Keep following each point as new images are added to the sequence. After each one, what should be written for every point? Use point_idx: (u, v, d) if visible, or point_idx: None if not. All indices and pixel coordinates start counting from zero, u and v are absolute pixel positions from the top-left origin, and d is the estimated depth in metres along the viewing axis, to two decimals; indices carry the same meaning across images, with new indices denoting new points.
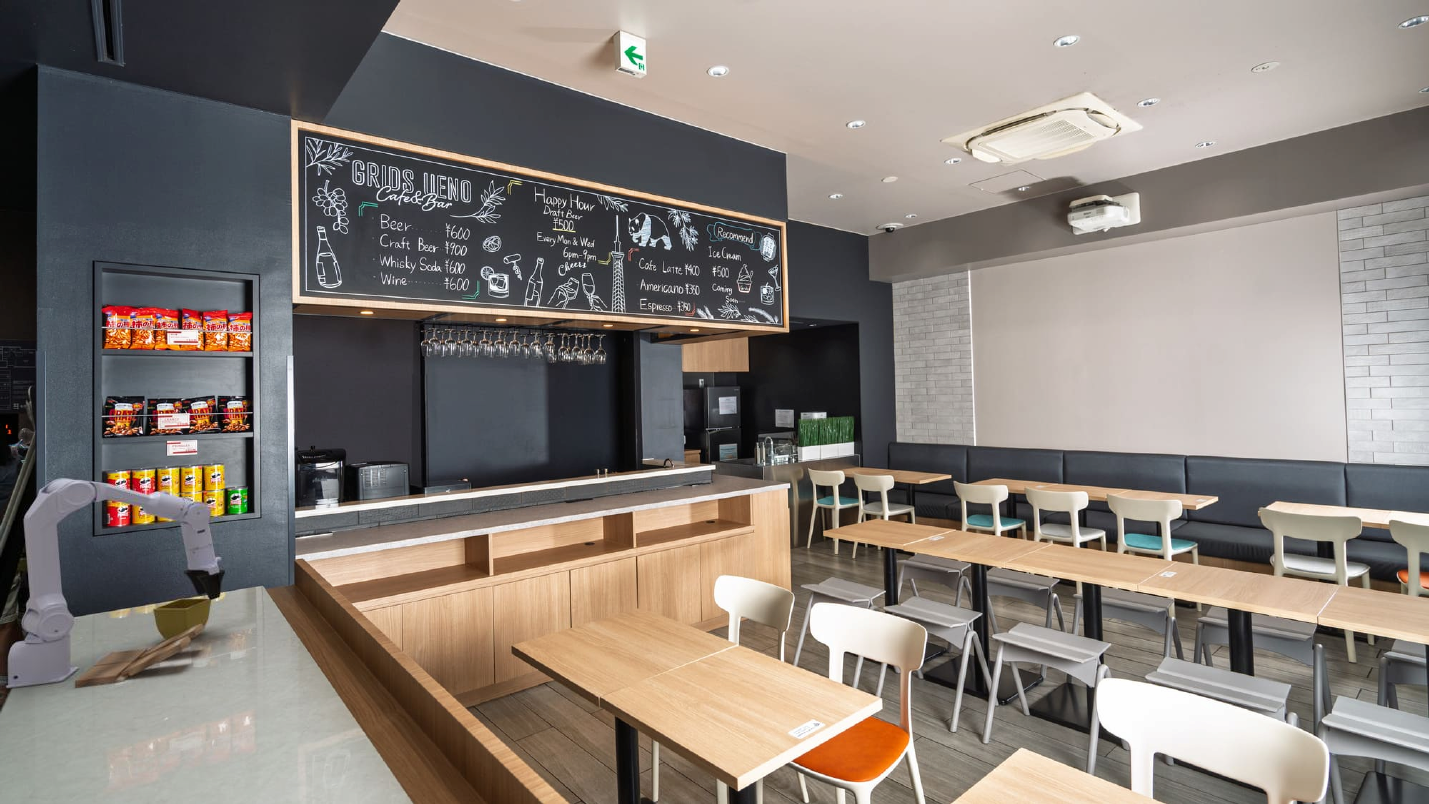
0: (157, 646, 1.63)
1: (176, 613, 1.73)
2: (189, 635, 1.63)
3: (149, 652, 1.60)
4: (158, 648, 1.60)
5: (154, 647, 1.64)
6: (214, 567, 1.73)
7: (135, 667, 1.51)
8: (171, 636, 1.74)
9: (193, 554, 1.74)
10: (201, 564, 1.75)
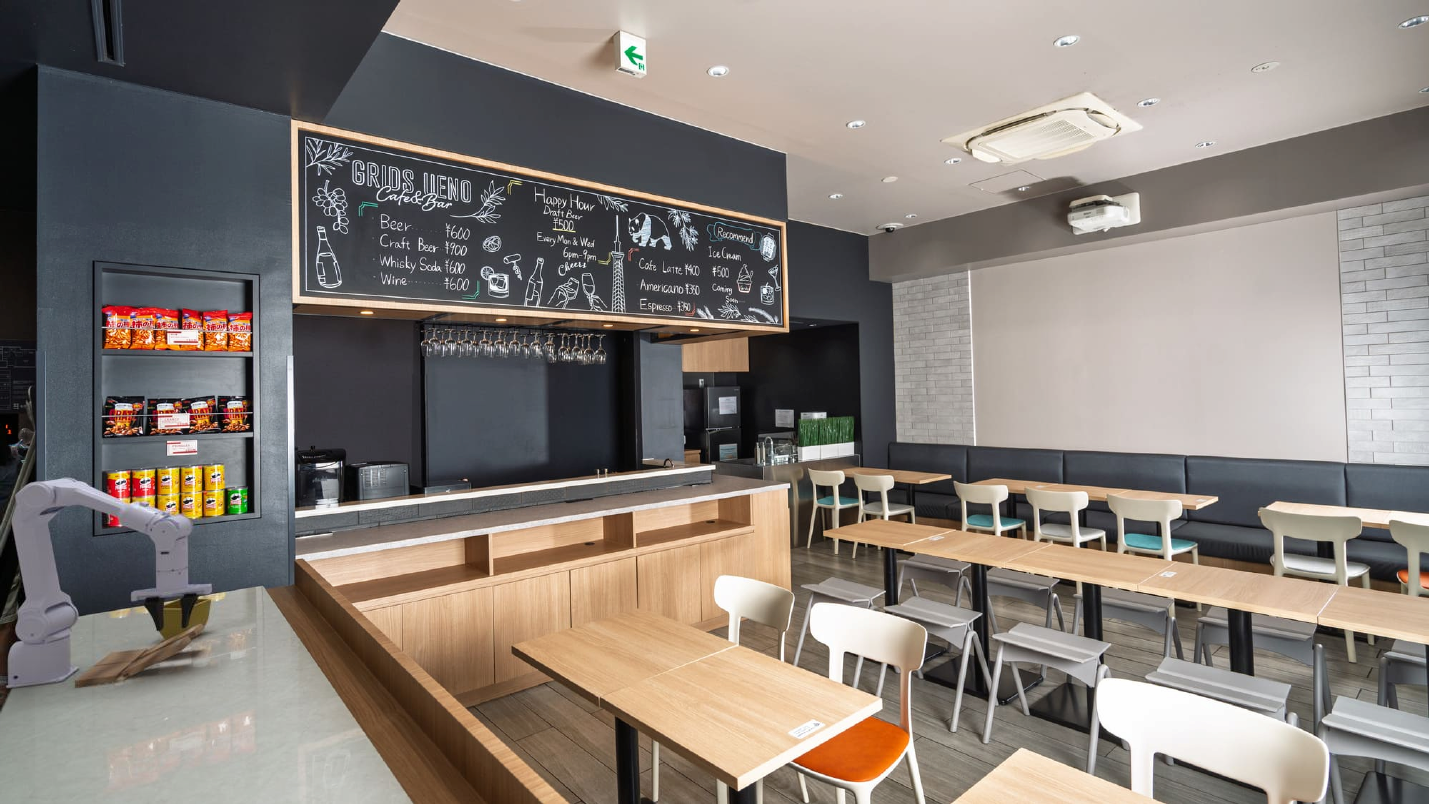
0: (157, 646, 1.63)
1: (176, 613, 1.73)
2: (189, 635, 1.63)
3: (149, 652, 1.60)
4: (158, 648, 1.60)
5: (154, 647, 1.64)
6: None
7: (135, 667, 1.51)
8: (171, 636, 1.74)
9: None
10: None
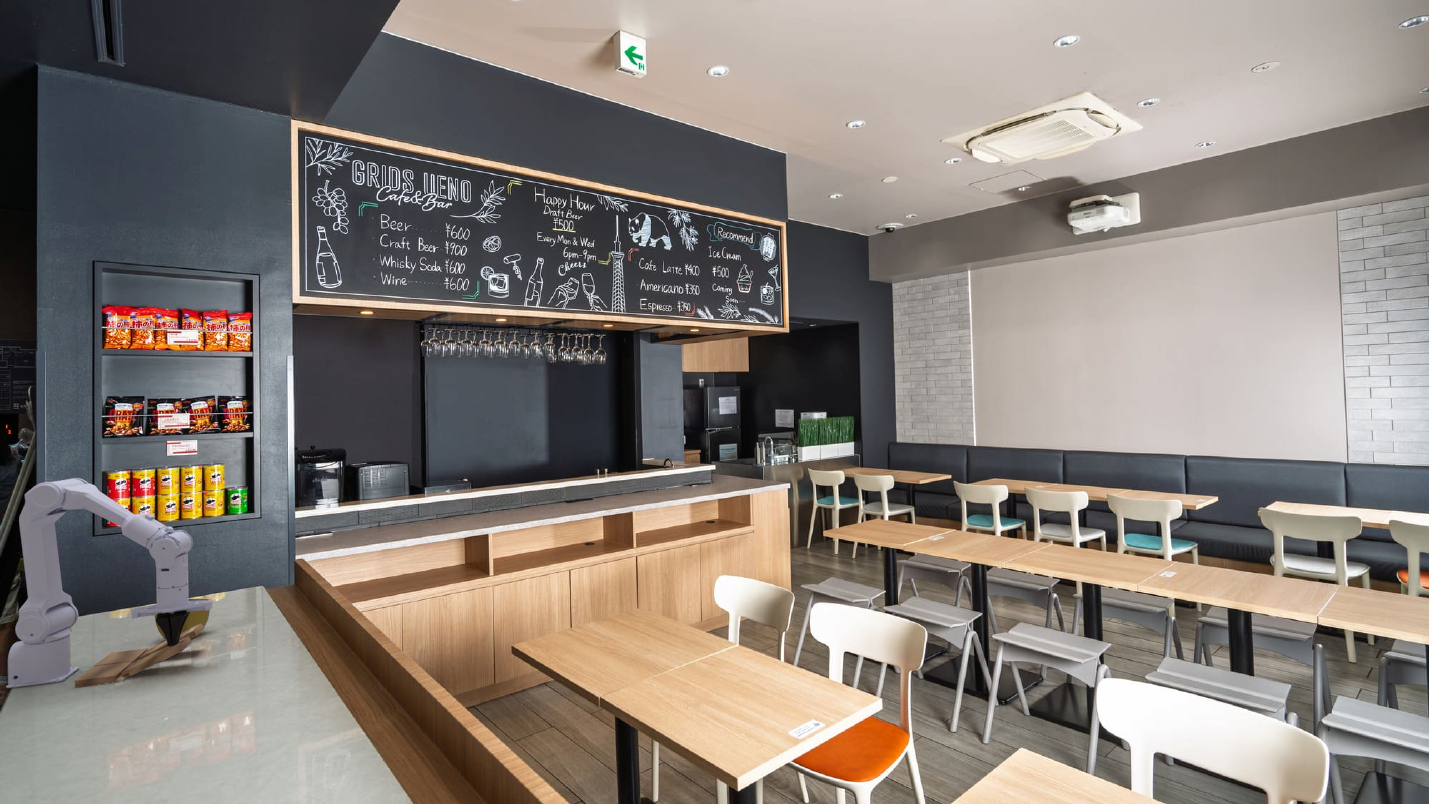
0: (157, 646, 1.63)
1: None
2: (189, 635, 1.63)
3: (149, 652, 1.60)
4: (158, 648, 1.60)
5: (154, 647, 1.64)
6: None
7: (135, 667, 1.51)
8: None
9: None
10: None
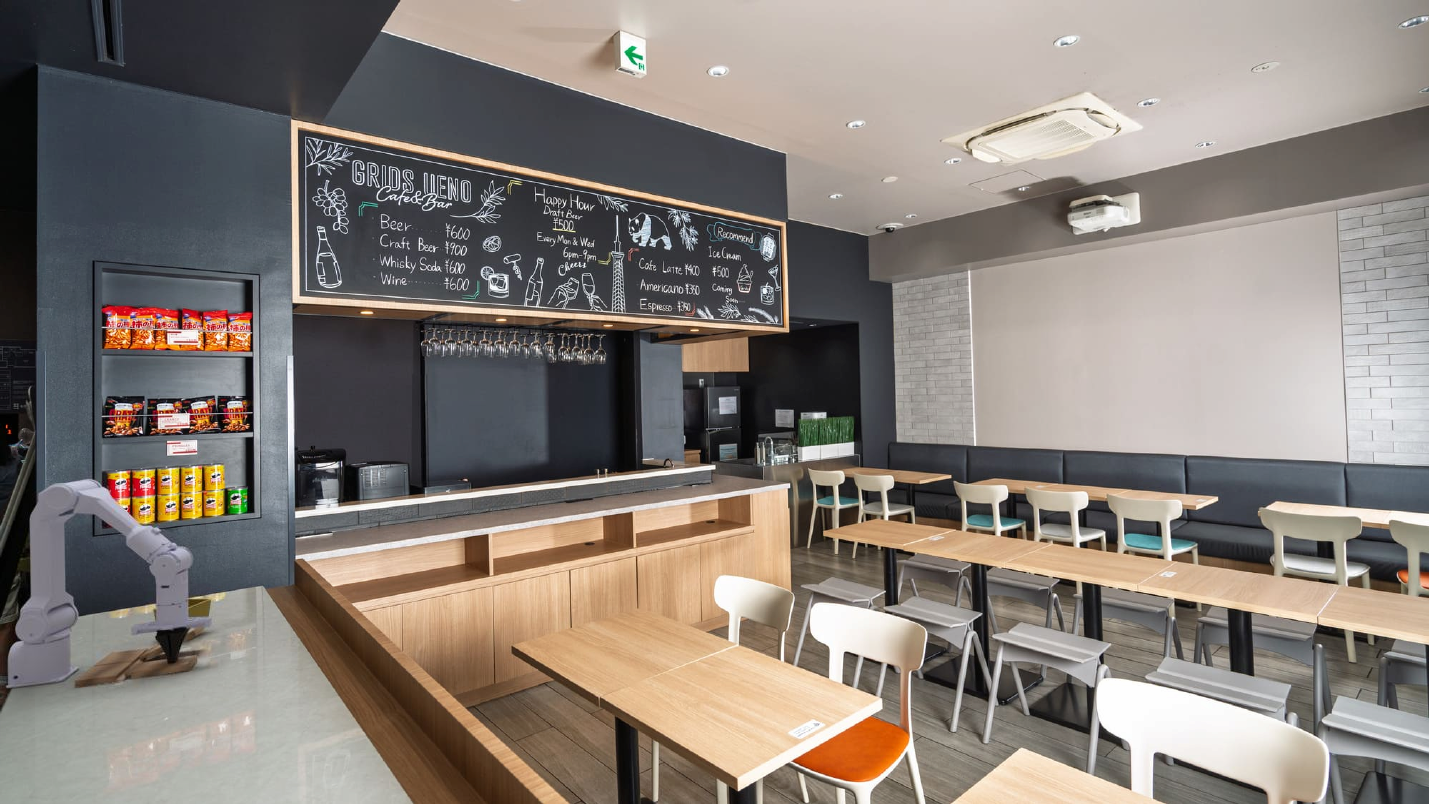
0: (157, 646, 1.63)
1: None
2: (189, 635, 1.63)
3: (149, 652, 1.60)
4: (158, 648, 1.60)
5: (154, 647, 1.64)
6: None
7: (139, 672, 1.51)
8: None
9: None
10: None
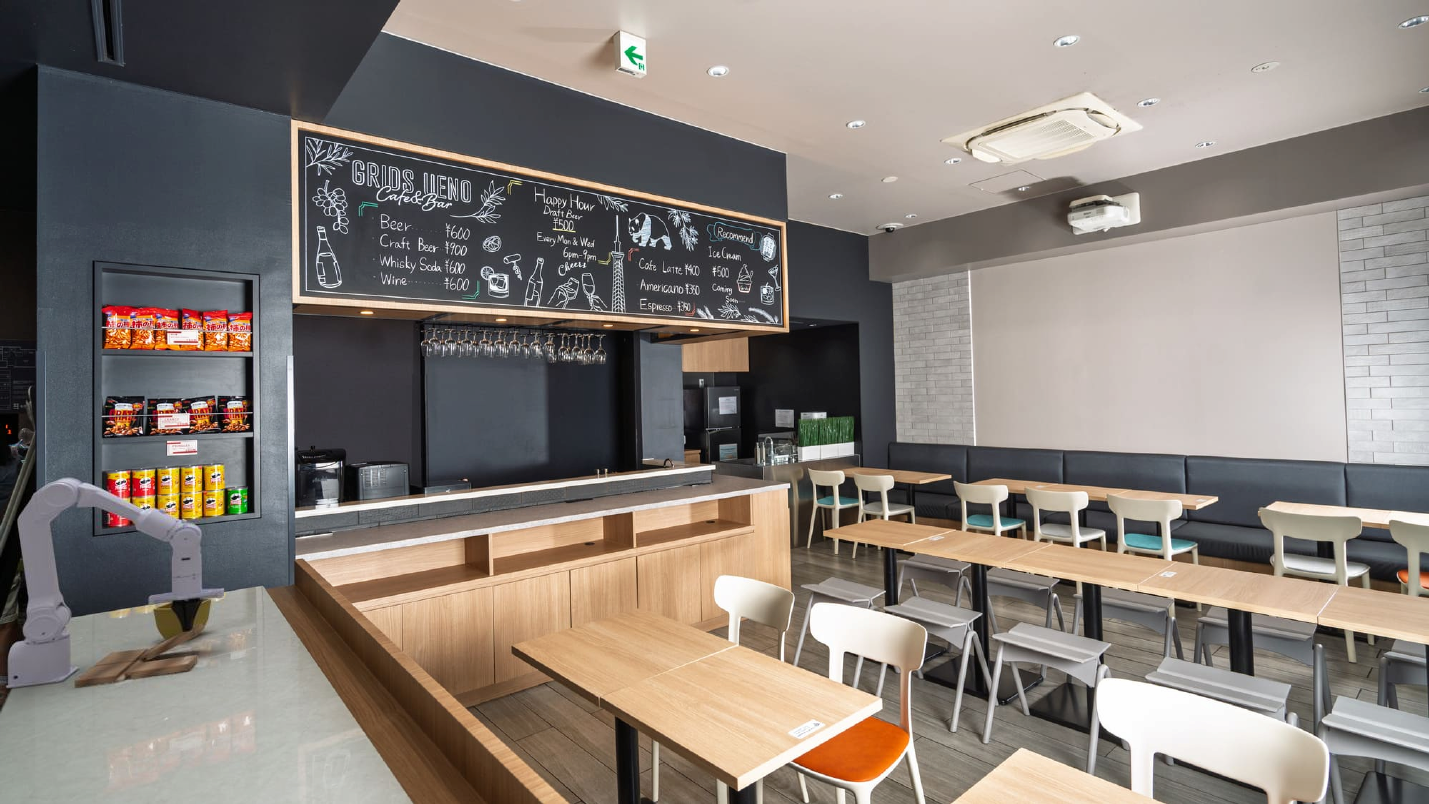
0: (157, 646, 1.63)
1: None
2: (189, 635, 1.63)
3: (149, 652, 1.60)
4: (158, 648, 1.60)
5: (154, 647, 1.64)
6: None
7: (139, 672, 1.51)
8: (171, 636, 1.74)
9: None
10: None
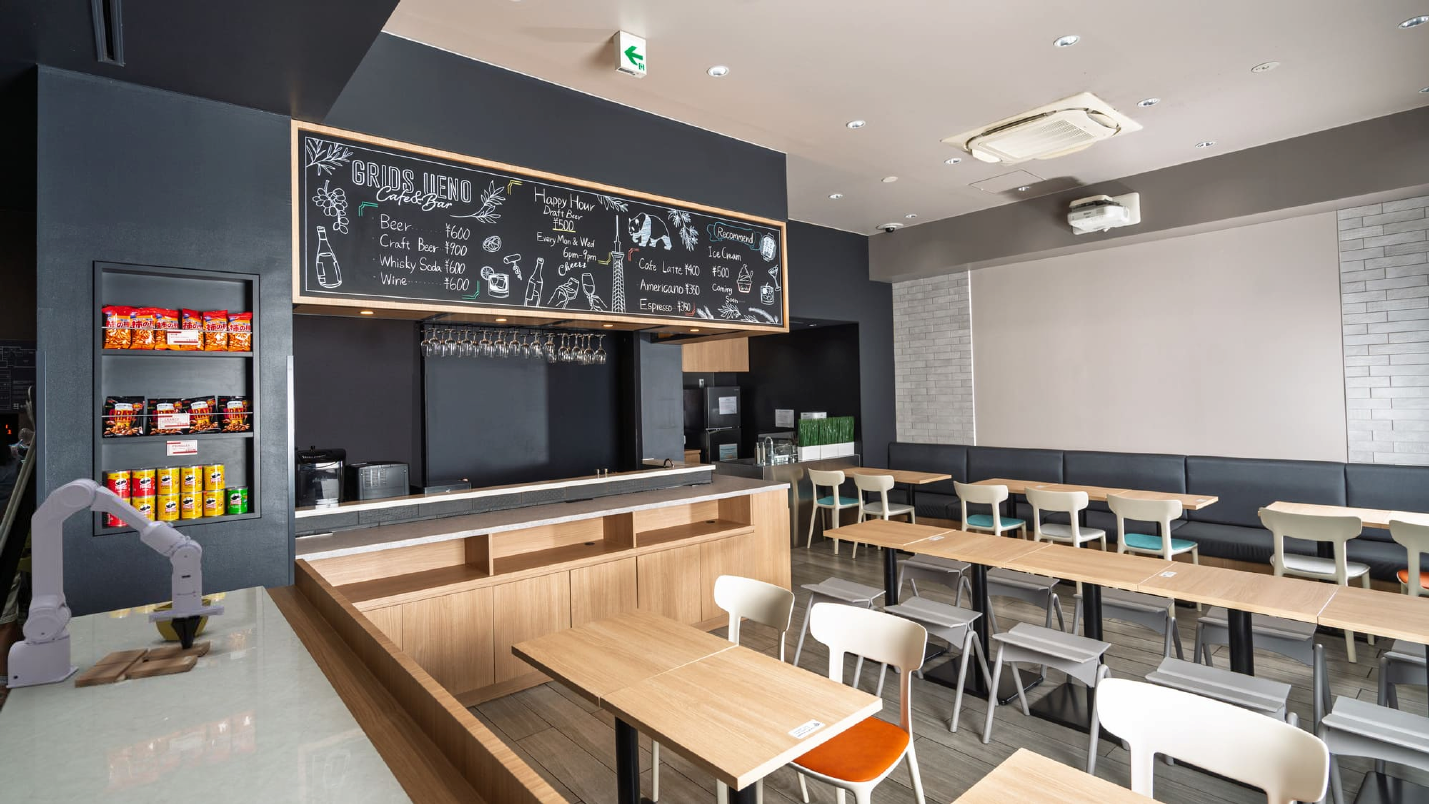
0: (162, 650, 1.64)
1: None
2: (196, 652, 1.63)
3: (154, 655, 1.60)
4: (163, 654, 1.61)
5: (158, 650, 1.64)
6: None
7: (139, 672, 1.51)
8: (171, 636, 1.74)
9: None
10: None
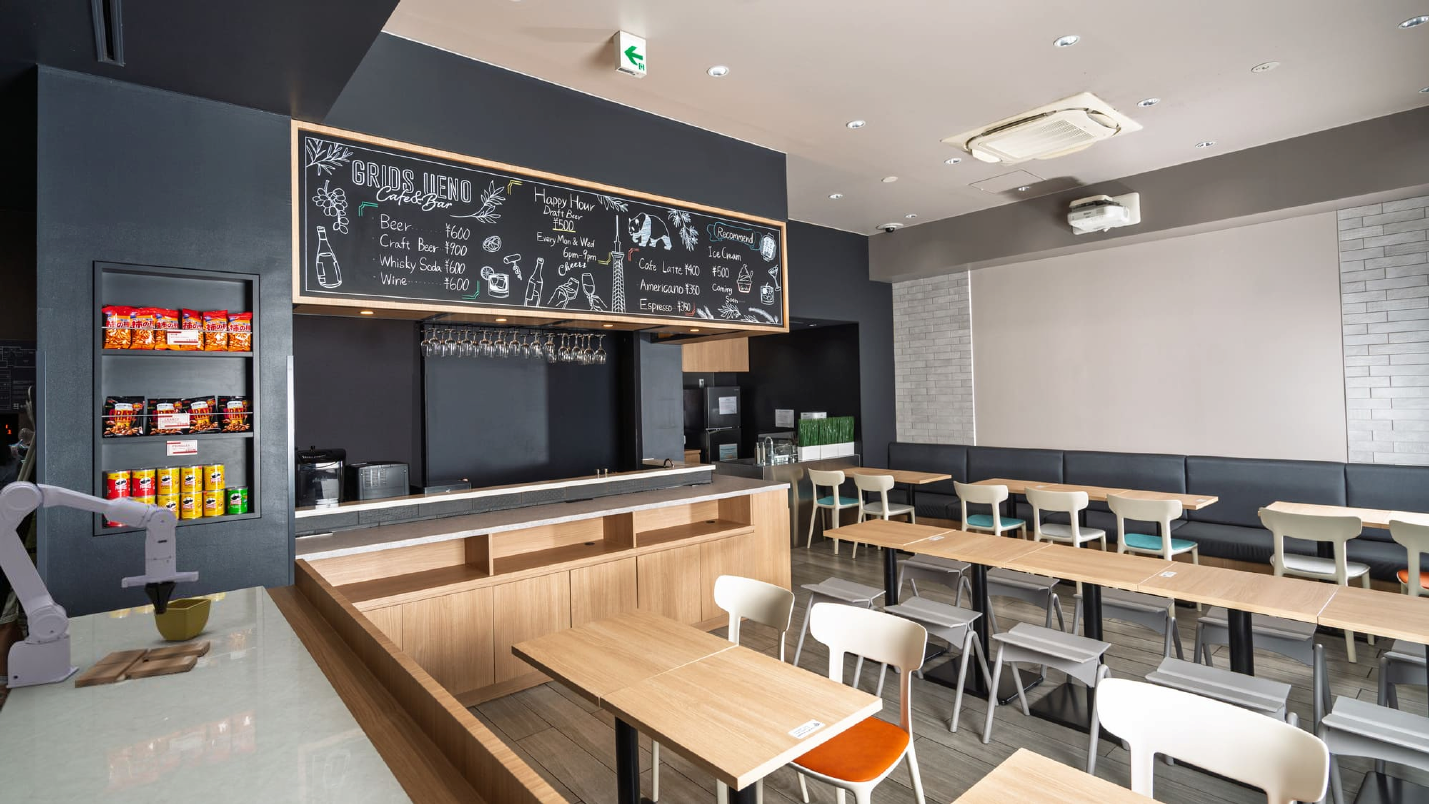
0: (162, 650, 1.64)
1: (176, 613, 1.73)
2: (196, 652, 1.63)
3: (154, 655, 1.60)
4: (163, 654, 1.61)
5: (158, 650, 1.64)
6: None
7: (139, 672, 1.51)
8: (171, 636, 1.74)
9: None
10: None
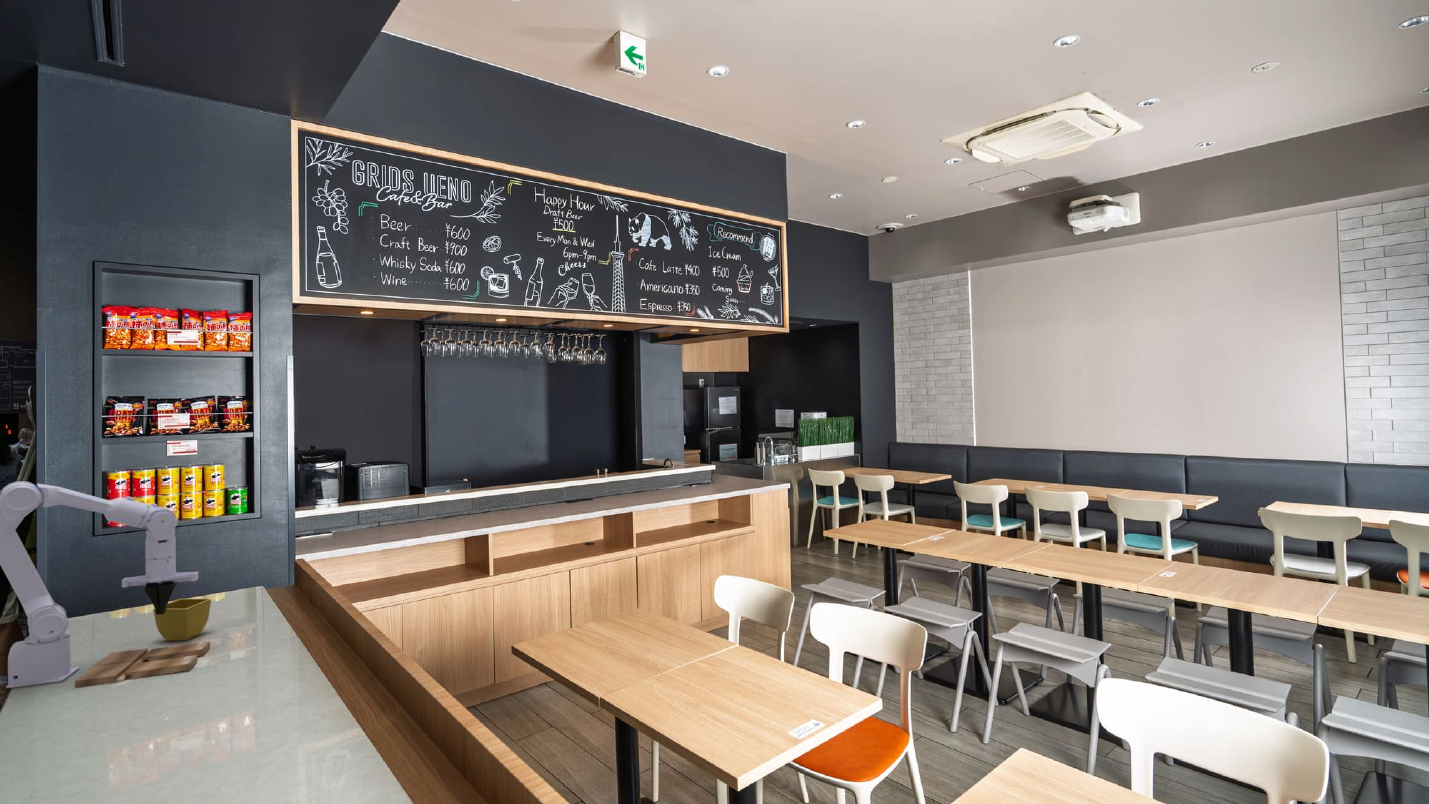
0: (162, 650, 1.64)
1: (176, 613, 1.73)
2: (196, 652, 1.63)
3: (154, 655, 1.60)
4: (163, 654, 1.61)
5: (158, 650, 1.64)
6: None
7: (139, 672, 1.51)
8: (171, 636, 1.74)
9: None
10: None
